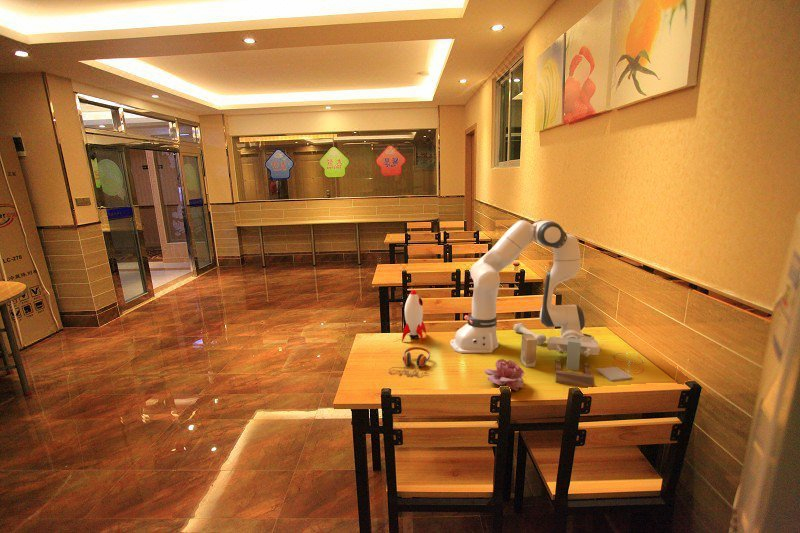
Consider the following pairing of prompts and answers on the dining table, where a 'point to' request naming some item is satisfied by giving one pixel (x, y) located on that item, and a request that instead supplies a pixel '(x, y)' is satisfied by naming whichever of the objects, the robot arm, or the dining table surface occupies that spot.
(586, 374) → the channel
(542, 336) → the dog toy
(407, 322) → the rocket
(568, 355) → the block
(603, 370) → the coaster
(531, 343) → the skincare box
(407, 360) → the headphones
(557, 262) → the robot arm
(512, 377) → the flower
